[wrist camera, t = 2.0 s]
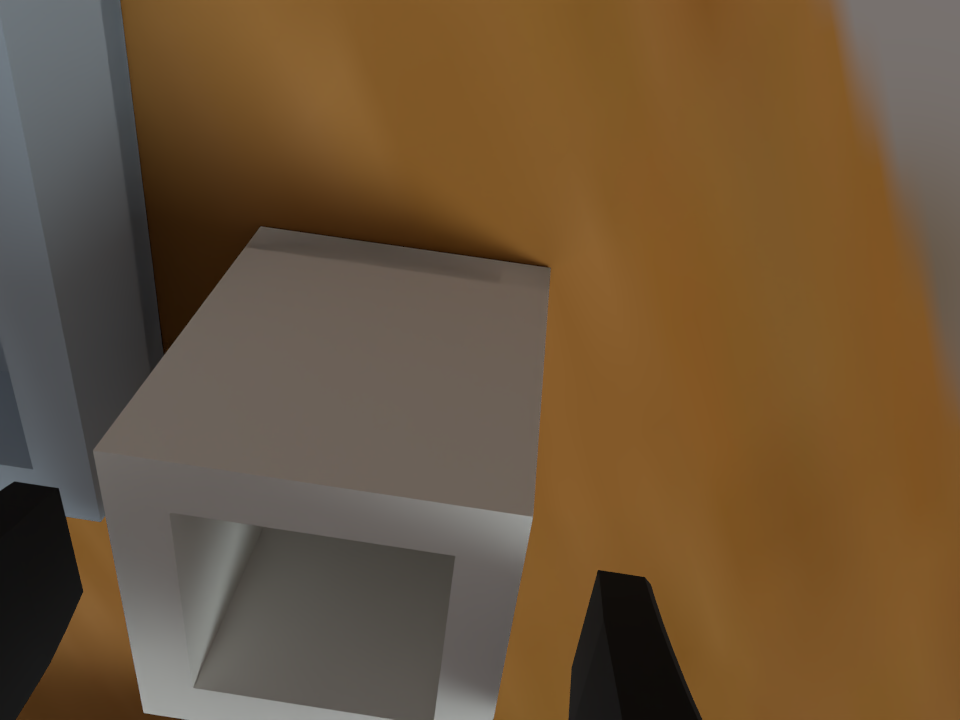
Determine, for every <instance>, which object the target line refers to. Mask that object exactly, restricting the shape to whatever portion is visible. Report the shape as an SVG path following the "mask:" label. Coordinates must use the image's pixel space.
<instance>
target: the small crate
mask: <svg viewBox="0 0 960 720" xmlns="http://www.w3.org/2000/svg"><path fill="white" fill-rule="evenodd" d="M550 269H551V268H547V267H541V266H534V265H527V264H520V263H513V262H506V261H499V260H492V259H485V258H478V257H471V256H464V255H457V254H450V253H443V252H436V251H429V250H422V249H415V248H408V247H401V246H394V245H387V244H380V243H373V242H366V241H359V240H352V239H345V238H338V237H331V236H324V235H317V234H310V233H303V232H296V231H290V230H283V229H276V228H269V227H262V226H260V228H259V229H258V230H257V232H256V233H255V234H254V236H253V237H252V238H251V240H250V241H249V243H248V244H247V245H246V247H245V248H244V249H243V251H242V252H241V253H240V255H239V256H238V257H237V259H236V260H235V261H234V263H233V264H232V265H231V267H230V268H229V269H228V271H227V272H226V273H225V275H224V276H223V277H222V279H221V280H220V281H219V283H218V284H217V285H216V287H215V288H214V289H213V291H212V292H211V293H210V295H209V296H208V297H207V299H206V300H205V301H204V303H203V304H202V305H201V307H200V308H199V309H198V311H197V312H196V313H195V315H194V316H193V317H192V319H191V320H190V321H189V323H188V324H187V325H186V327H185V328H184V329H183V331H182V332H181V333H180V335H179V336H178V337H177V339H176V340H175V341H174V343H173V344H172V345H171V347H170V348H169V349H168V351H167V352H166V353H165V355H164V356H163V357H162V359H161V360H160V361H159V363H158V364H157V365H156V367H155V368H154V369H153V371H152V372H151V373H150V375H149V376H148V377H147V379H146V380H145V381H144V383H143V384H142V385H141V387H140V388H139V389H138V391H137V392H136V393H135V395H134V396H133V397H132V399H131V400H130V401H129V403H128V404H127V405H126V407H125V408H124V409H123V411H122V412H121V413H120V415H119V416H118V417H117V419H116V420H115V422H114V423H113V424H112V426H111V427H110V428H109V430H108V431H107V432H106V434H105V435H104V436H103V438H102V439H101V440H100V442H99V443H98V444H97V446H96V447H95V448H94V450H93V454H94V459H95V465H96V470H97V475H98V480H99V485H100V490H101V496H102V501H103V506H104V511H105V516H106V521H107V527H108V532H109V537H110V542H111V547H112V552H113V558H114V563H115V568H116V573H117V578H118V583H119V589H120V594H121V599H122V604H123V609H124V614H125V619H126V625H127V630H128V635H129V640H130V645H131V650H132V656H133V661H134V666H135V671H136V676H137V681H138V687H139V692H140V697H141V702H142V707H143V712H144V713H147V714H154V715H160V716H166V717H173V718H179V719H185V720H493V718H494V713H495V708H496V703H497V697H498V692H499V687H500V682H501V677H502V672H503V667H504V662H505V657H506V652H507V647H508V641H509V636H510V631H511V626H512V621H513V616H514V611H515V606H516V601H517V596H518V590H519V585H520V580H521V575H522V570H523V565H524V560H525V555H526V550H527V545H528V539H529V534H530V529H531V524H532V519H533V509H534V495H535V481H536V467H537V452H538V438H539V424H540V410H541V396H542V382H543V368H544V354H545V340H546V326H547V312H548V297H549V283H550Z"/></svg>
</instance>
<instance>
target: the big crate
mask: <svg viewBox="0 0 960 720" xmlns="http://www.w3.org/2000/svg"><path fill="white" fill-rule="evenodd" d="M163 356H164V354H163V346H162V338H161V330H160V322H159V313H158V305H157V297H156V289H155V281H154V273H153V265H152V256H151V248H150V240H149V232H148V224H147V216H146V208H145V199H144V191H143V183H142V175H141V167H140V159H139V150H138V142H137V134H136V126H135V118H134V110H133V102H132V93H131V85H130V77H129V69H128V61H127V53H126V44H125V36H124V28H123V20H122V12H121V4H120V0H0V490H2V489H3V488H5V487H6V486H8V485H10V484H11V483H13V482H14V481H15V482H22V483H28V484H35V485H42V486H48V487H55V488H59V491H60V495H61V499H62V504H63V508H64V512H65V516H66V517H72V518H79V519H85V520H92V521H98V522H101V521H102V520H103V518H104V517H105V511H104V506H103V501H102V496H101V490H100V485H99V480H98V475H97V470H96V465H95V459H94V454H93V450H94V448H95V447H96V446H97V444H98V443H99V442H100V440H101V439H102V438H103V436H104V435H105V434H106V432H107V431H108V430H109V428H110V427H111V426H112V424H113V423H114V422H115V420H116V419H117V417H118V416H119V415H120V413H121V412H122V411H123V409H124V408H125V407H126V405H127V404H128V403H129V401H130V400H131V399H132V397H133V396H134V395H135V393H136V392H137V391H138V389H139V388H140V387H141V385H142V384H143V383H144V381H145V380H146V379H147V377H148V376H149V375H150V373H151V372H152V371H153V369H154V368H155V367H156V365H157V364H158V363H159V361H160V360H161V359H162V357H163Z"/></svg>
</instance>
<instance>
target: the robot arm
mask: <svg viewBox="0 0 960 720" xmlns="http://www.w3.org/2000/svg"><path fill="white" fill-rule="evenodd" d="M82 593H83V588H82V584H81V580H80V576H79V571H78V567H77V563H76V559H75V554H74V550H73V546H72V542H71V537H70V533H69V529H68V525H67V520H66V516H65V512H64V508H63V504H62V499H61V495H60V491H59V488H55V487H48V486H42V485H35V484H28V483H22V482H15V481H14V482H13V483H11V484H10V485H8V486H6V487H5V488H3V489H2V490H0V720H16V718H17V717H18V715H19V713H20V712H21V710H22V708H23V707H24V705H25V704H26V702H27V700H28V699H29V697H30V695H31V694H32V692H33V691H34V689H35V687H36V686H37V684H38V682H39V681H40V679H41V677H42V676H43V674H44V672H45V671H46V669H47V667H48V666H49V664H50V662H51V660H52V658H53V656H54V654H55V652H56V650H57V648H58V646H59V644H60V642H61V640H62V637H63V635H64V633H65V631H66V629H67V627H68V625H69V622H70V620H71V618H72V616H73V613H74V611H75V609H76V607H77V604H78V602H79V600H80V598H81V595H82ZM569 720H702V718H701V716H700V713H699V711H698V709H697V707H696V705H695V702H694V700H693V698H692V695H691V693H690V691H689V688H688V686H687V684H686V681H685V679H684V676H683V674H682V671H681V669H680V666H679V664H678V661H677V659H676V656H675V653H674V651H673V648H672V646H671V643H670V640H669V638H668V635H667V632H666V629H665V627H664V624H663V621H662V618H661V615H660V612H659V609H658V606H657V603H656V600H655V597H654V594H653V590H652V587H651V584H650V583H649V582H648V581H647V579H646V578H645V577H640V576H633V575H627V574H620V573H614V572H607V571H601V570H598V572H597V576H596V580H595V583H594V587H593V591H592V595H591V598H590V602H589V606H588V609H587V613H586V617H585V620H584V624H583V628H582V631H581V635H580V639H579V643H578V646H577V650H576V654H575V657H574V661H573V665H572V673H571V689H570V705H569Z"/></svg>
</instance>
